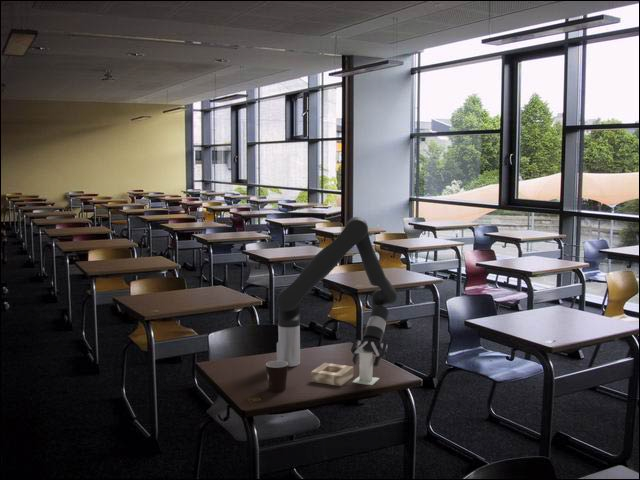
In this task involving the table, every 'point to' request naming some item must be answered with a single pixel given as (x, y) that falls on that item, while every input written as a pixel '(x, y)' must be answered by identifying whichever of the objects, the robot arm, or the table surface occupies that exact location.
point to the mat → (366, 382)
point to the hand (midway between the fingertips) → (364, 364)
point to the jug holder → (332, 374)
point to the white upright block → (365, 366)
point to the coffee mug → (277, 375)
